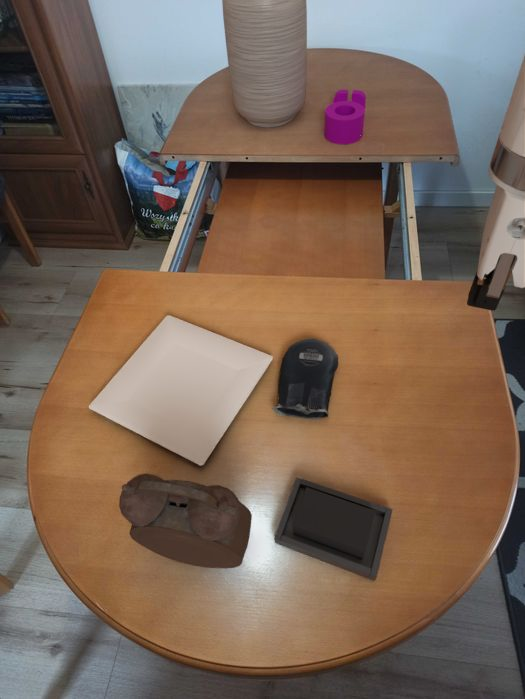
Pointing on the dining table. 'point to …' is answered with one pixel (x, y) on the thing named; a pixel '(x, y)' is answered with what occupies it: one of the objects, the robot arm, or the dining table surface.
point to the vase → (267, 58)
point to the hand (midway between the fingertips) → (481, 303)
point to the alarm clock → (187, 520)
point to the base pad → (329, 555)
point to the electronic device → (306, 379)
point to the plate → (182, 387)
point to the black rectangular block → (334, 522)
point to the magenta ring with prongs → (345, 117)
